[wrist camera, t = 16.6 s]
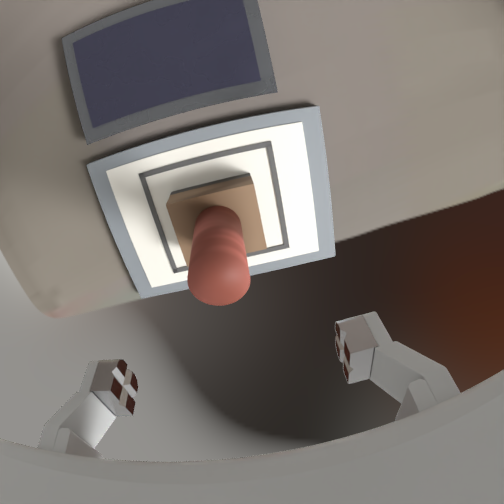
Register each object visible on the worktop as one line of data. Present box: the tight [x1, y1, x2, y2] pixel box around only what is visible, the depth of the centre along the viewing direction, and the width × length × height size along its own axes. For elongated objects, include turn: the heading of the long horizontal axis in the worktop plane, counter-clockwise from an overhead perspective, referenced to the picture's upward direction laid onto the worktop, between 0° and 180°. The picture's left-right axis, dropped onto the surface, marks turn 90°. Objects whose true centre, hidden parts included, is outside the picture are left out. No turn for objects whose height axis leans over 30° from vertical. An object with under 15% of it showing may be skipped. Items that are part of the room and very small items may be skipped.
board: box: [87, 106, 335, 299], centre depth 24 cm, size 18×13×1 cm
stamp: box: [166, 173, 267, 306], centre depth 20 cm, size 6×5×9 cm
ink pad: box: [62, 0, 277, 145], centre depth 17 cm, size 14×9×2 cm, turn 101°
